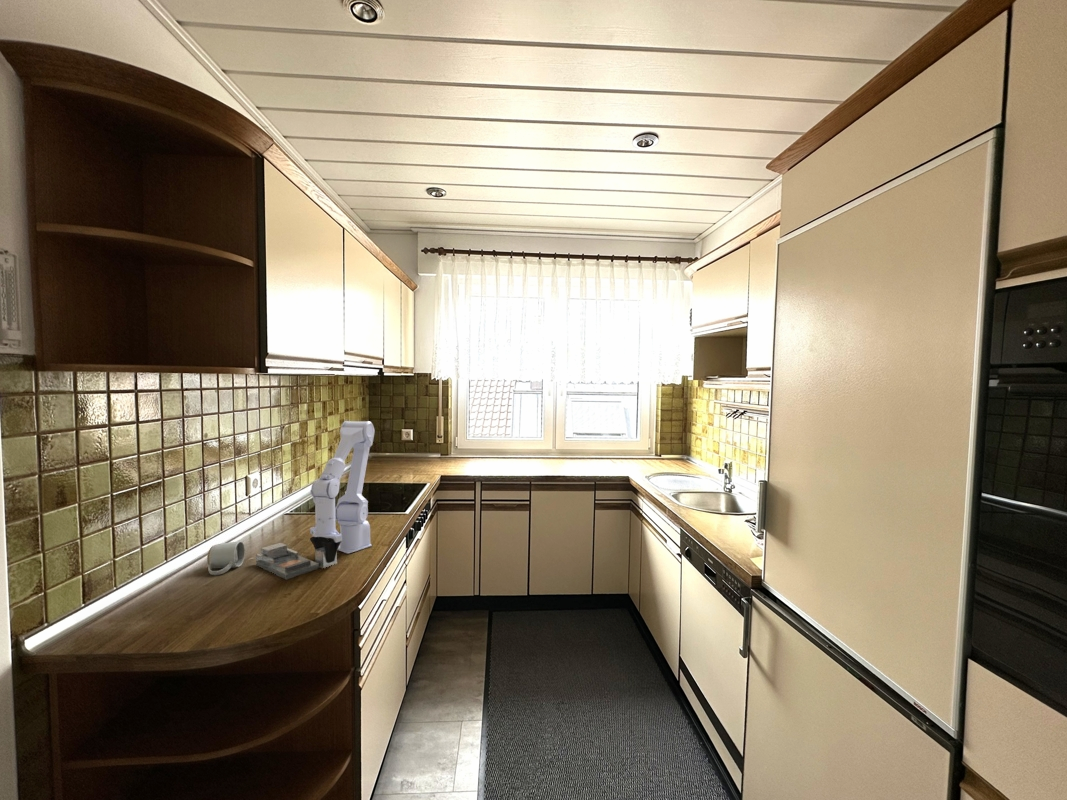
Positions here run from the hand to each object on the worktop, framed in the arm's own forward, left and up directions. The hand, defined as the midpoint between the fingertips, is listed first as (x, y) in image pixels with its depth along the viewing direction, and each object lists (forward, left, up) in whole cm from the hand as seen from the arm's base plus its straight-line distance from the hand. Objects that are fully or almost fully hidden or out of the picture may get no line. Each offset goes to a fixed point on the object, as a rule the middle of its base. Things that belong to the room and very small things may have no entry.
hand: (326, 560), depth 146 cm
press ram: (+8, -16, 0) cm, 18 cm away
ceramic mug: (+19, -23, -2) cm, 30 cm away
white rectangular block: (0, 0, -1) cm, 1 cm away
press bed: (+8, -8, -1) cm, 11 cm away
